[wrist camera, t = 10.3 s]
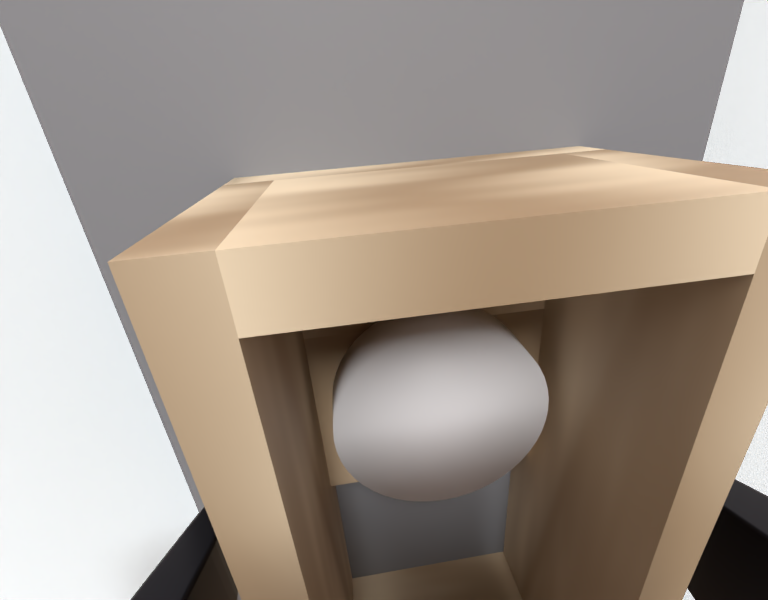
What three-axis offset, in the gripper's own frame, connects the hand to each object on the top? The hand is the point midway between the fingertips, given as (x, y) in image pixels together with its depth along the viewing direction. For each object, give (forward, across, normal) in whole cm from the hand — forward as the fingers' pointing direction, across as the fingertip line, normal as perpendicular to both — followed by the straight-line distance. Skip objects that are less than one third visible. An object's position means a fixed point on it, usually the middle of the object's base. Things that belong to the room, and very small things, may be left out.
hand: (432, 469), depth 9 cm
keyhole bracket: (+1, 0, 0) cm, 1 cm away
